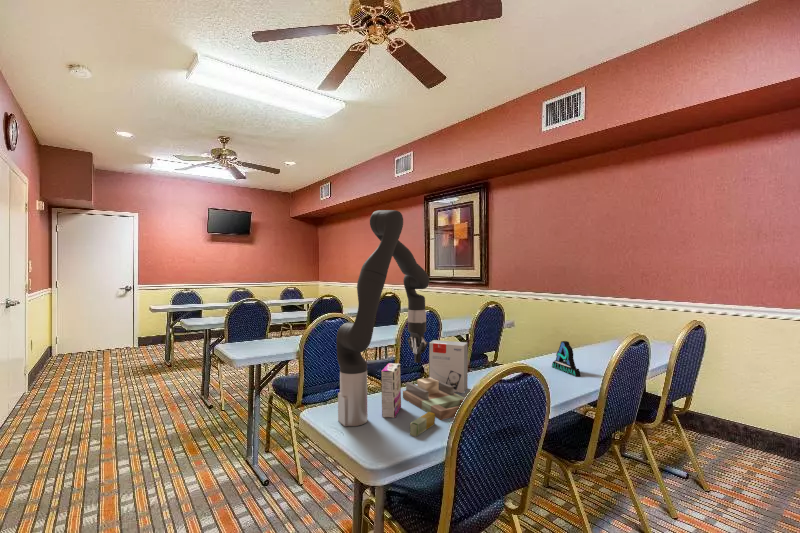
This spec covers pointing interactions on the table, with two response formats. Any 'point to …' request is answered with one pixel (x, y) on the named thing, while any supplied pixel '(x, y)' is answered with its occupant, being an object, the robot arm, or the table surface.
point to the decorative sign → (567, 355)
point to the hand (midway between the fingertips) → (417, 362)
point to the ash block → (429, 385)
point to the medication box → (422, 424)
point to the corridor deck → (434, 400)
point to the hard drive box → (449, 363)
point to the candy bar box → (391, 390)
